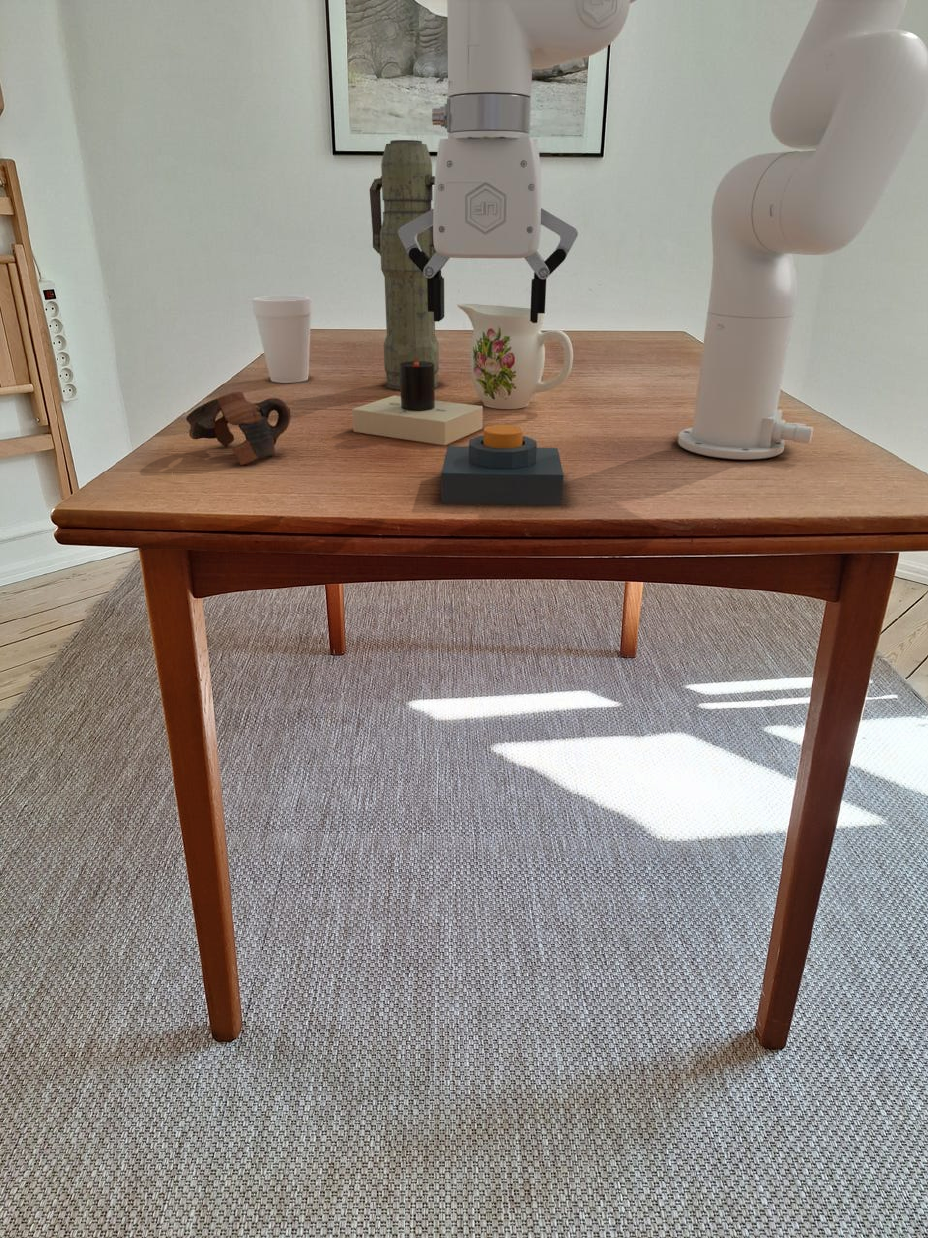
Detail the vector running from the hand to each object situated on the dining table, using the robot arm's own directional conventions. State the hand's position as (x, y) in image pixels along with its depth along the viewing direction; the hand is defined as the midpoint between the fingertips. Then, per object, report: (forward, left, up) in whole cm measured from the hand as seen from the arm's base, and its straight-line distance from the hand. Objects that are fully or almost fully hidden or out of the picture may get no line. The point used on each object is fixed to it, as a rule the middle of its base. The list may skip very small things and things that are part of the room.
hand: (486, 320), depth 82 cm
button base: (-4, +3, -16) cm, 17 cm away
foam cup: (+55, -33, -16) cm, 67 cm away
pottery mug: (+29, +6, -16) cm, 34 cm away
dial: (+17, -14, -13) cm, 26 cm away
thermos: (+34, -39, -16) cm, 55 cm away
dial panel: (+17, -14, -16) cm, 28 cm away
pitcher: (+13, -34, -16) cm, 40 cm away
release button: (-4, +3, -12) cm, 13 cm away
